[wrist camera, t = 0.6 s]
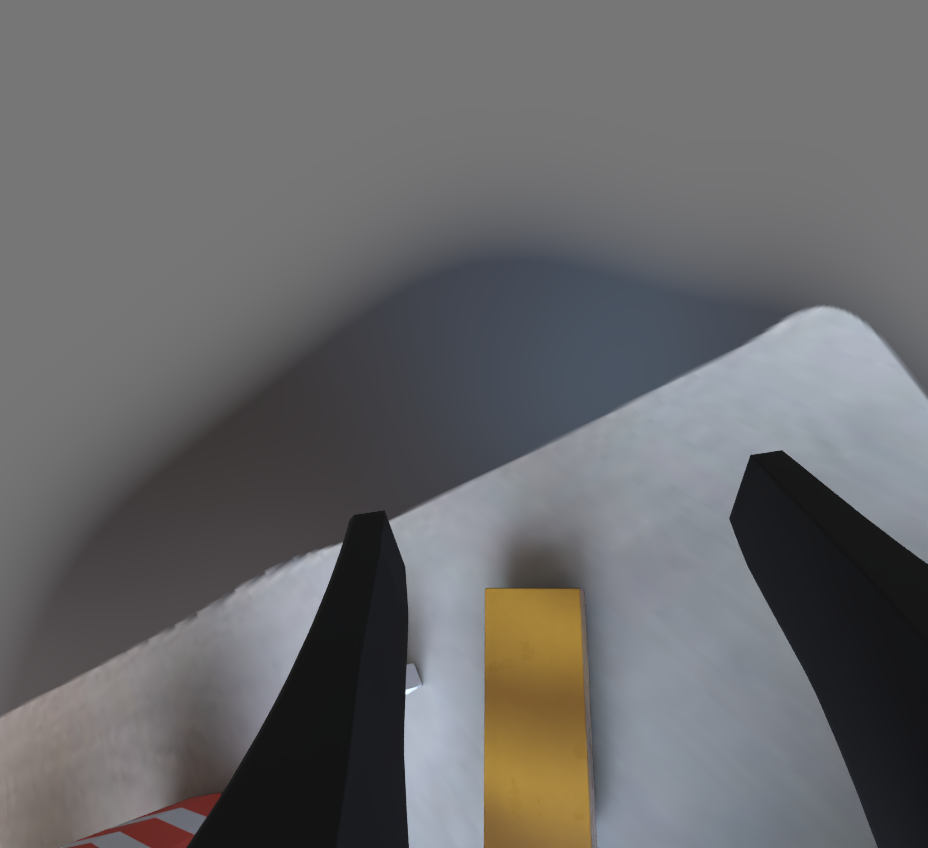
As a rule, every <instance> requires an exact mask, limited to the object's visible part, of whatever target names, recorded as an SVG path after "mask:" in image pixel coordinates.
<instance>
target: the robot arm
mask: <svg viewBox="0 0 928 848" xmlns="http://www.w3.org/2000/svg"><path fill="white" fill-rule="evenodd" d="M729 519H730V522H731V524H732V527H733V530H734V533H735V535H736V538H737V541H738V543H739V546H740V548H741V551H742V553H743V556H744V558H745V561H746V563H747V565H748V568H749V569H750V571H751V573H752V575H753V577H754V579H755V581H756V583H757V585H758V586H759V588H760V590H761V592H762V594H763V596H764V598H765V599H766V601H767V603H768V605H769V607H770V609H771V610H772V612H773V614H774V616H775V618H776V620H777V621H778V623H779V625H780V627H781V629H782V630H783V632H784V634H785V636H786V638H787V640H788V641H789V643H790V645H791V647H792V649H793V651H794V652H795V654H796V656H797V658H798V660H799V662H800V663H801V665H802V667H803V669H804V671H805V673H806V675H807V677H808V679H809V681H810V683H811V685H812V687H813V689H814V691H815V693H816V695H817V697H818V699H819V702H820V704H821V706H822V709H823V711H824V713H825V716H826V718H827V720H828V723H829V725H830V727H831V730H832V732H833V734H834V737H835V739H836V741H837V744H838V746H839V748H840V751H841V753H842V756H843V758H844V761H845V763H846V766H847V768H848V771H849V773H850V776H851V778H852V781H853V783H854V786H855V788H856V791H857V793H858V796H859V798H860V801H861V804H862V806H863V809H864V812H865V815H866V817H867V820H868V823H869V825H870V828H871V831H872V834H873V836H874V839H875V842H876V844H877V847H878V848H928V564H927V563H925V562H924V561H922V560H921V559H920V558H918V557H917V556H916V555H914V554H913V553H912V552H910V551H909V550H907V549H906V548H905V547H903V546H902V545H901V544H899V543H898V542H897V541H895V540H894V539H893V538H891V537H890V536H889V535H888V534H886V533H885V532H884V531H882V530H881V529H880V528H878V527H877V526H876V525H874V524H873V523H872V522H871V521H869V520H868V519H867V518H865V517H864V516H863V515H862V514H860V513H859V512H858V511H856V510H855V509H854V508H853V507H851V506H850V505H849V504H848V503H846V502H845V501H844V500H843V499H841V498H840V497H839V496H838V495H837V494H835V493H834V492H833V491H832V490H830V489H829V488H828V487H827V486H825V485H824V484H823V483H822V482H820V481H819V480H818V479H817V478H816V477H814V476H813V475H812V474H811V473H809V472H808V471H807V470H806V469H805V468H803V467H802V466H801V465H800V464H798V463H797V462H796V461H795V460H793V459H792V458H791V457H790V456H788V455H787V454H786V453H785V452H783V451H782V450H781V451H775V452H768V453H761V454H755V455H750V458H749V461H748V464H747V467H746V470H745V473H744V476H743V479H742V482H741V485H740V488H739V491H738V494H737V497H736V500H735V503H734V506H733V509H732V512H731V515H730V518H729ZM407 642H408V601H407V586H406V572H405V565H404V562H403V560H402V557H401V554H400V551H399V549H398V546H397V543H396V541H395V538H394V535H393V532H392V530H391V527H390V524H389V521H388V519H387V516H386V513H385V511H378V512H371V513H365V514H358V515H354V516H353V517H352V518H351V519H350V521H349V525H348V528H347V532H346V535H345V538H344V541H343V545H342V548H341V551H340V554H339V557H338V559H337V562H336V565H335V568H334V571H333V573H332V576H331V579H330V581H329V584H328V587H327V589H326V592H325V594H324V597H323V599H322V602H321V604H320V606H319V609H318V611H317V614H316V616H315V619H314V621H313V624H312V626H311V628H310V630H309V633H308V635H307V637H306V639H305V641H304V644H303V646H302V648H301V650H300V652H299V654H298V656H297V659H296V661H295V663H294V665H293V667H292V669H291V671H290V674H289V676H288V678H287V680H286V682H285V684H284V686H283V688H282V690H281V691H280V693H279V695H278V697H277V699H276V701H275V703H274V705H273V707H272V709H271V711H270V712H269V714H268V716H267V718H266V720H265V722H264V723H263V725H262V727H261V729H260V731H259V732H258V734H257V736H256V738H255V739H254V741H253V743H252V745H251V746H250V748H249V750H248V751H247V753H246V755H245V756H244V758H243V760H242V761H241V763H240V765H239V766H238V768H237V770H236V772H235V773H234V775H233V777H232V778H231V780H230V781H229V783H228V785H227V786H226V788H225V790H224V791H223V793H222V794H221V796H220V797H219V799H218V801H217V802H216V804H215V805H214V807H213V808H212V810H211V811H210V813H209V814H208V816H207V817H206V819H205V820H204V822H203V823H202V825H201V826H200V828H199V829H198V831H197V832H196V834H195V835H194V837H193V838H192V840H191V841H190V843H189V844H188V846H187V847H186V848H409V843H408V825H407V808H406V787H405V766H404V717H405V692H406V668H407Z"/></svg>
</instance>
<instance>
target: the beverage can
mask: <svg viewBox="0 0 928 848" xmlns="http://www.w3.org/2000/svg"><path fill="white" fill-rule="evenodd" d="M220 796H221V793H215V794H209V795H204V796H198V797H193V798H189V799H186V800H184V801H181V802H178V803H176V804H173V805H170V806H168V807H165V808H162V809H160V810H157V811H155V812H152V813H149V814H147V815H144V816H141V817H139V818H136V819H133V820H131V821H128V822H125V823H123V824H120V825H117V826H115V827H112V828H109V829H107V830H104V831H101V832H99V833H96V834H93V835H91V836H88V837H85V838H83V839H80V840H77V841H75V842H72V843H69V844H67V845H64V846H61V847H59V848H186V847H187V846H188V844H189V843H190V841H191V840H192V838H193V837H194V835H195V834H196V832H197V831H198V829H199V828H200V826H201V825H202V823H203V822H204V820H205V819H206V817H207V816H208V814H209V813H210V811H211V810H212V808H213V807H214V805H215V804H216V802H217V801H218V799H219V797H220Z"/></svg>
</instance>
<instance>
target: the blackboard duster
mask: <svg viewBox="0 0 928 848" xmlns="http://www.w3.org/2000/svg"><path fill="white" fill-rule="evenodd" d="M484 848H597V835H596V815H595V794H594V774H593V753H592V732H591V712H590V691H589V671H588V650H587V630H586V609H585V591H584V590H583V589H579V588H486V589H485V746H484Z"/></svg>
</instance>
